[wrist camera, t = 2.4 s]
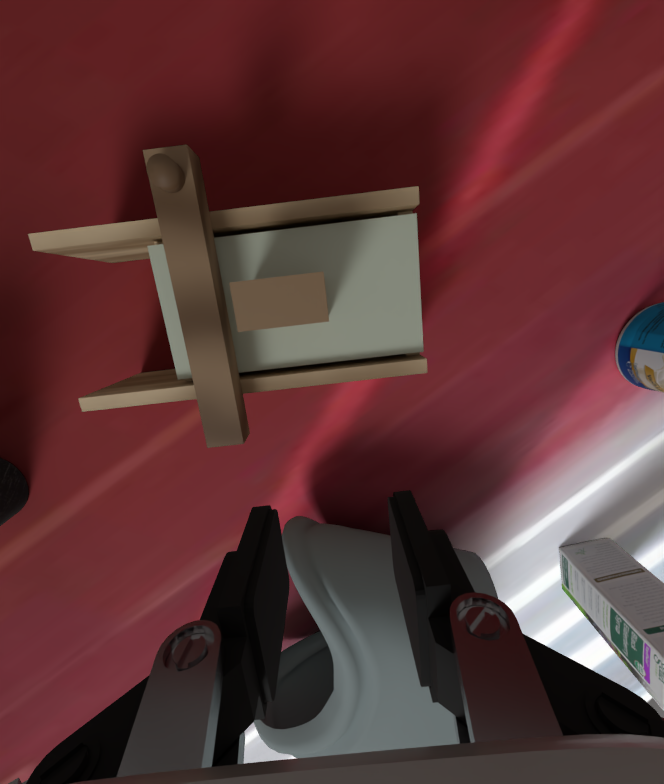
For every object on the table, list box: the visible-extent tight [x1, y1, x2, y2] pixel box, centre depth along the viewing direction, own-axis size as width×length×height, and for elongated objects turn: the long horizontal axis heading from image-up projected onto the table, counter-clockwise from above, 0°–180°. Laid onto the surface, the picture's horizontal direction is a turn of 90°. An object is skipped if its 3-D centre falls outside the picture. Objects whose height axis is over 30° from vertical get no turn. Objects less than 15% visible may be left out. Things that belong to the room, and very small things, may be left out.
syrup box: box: [559, 538, 664, 711], centre depth 34 cm, size 6×6×14 cm
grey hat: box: [254, 516, 498, 758], centre depth 36 cm, size 22×19×13 cm
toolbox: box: [28, 186, 427, 412], centre depth 29 cm, size 12×25×9 cm, turn 96°
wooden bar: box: [143, 145, 250, 448], centre depth 23 cm, size 18×2×3 cm, turn 6°
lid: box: [147, 213, 423, 380], centre depth 23 cm, size 9×18×7 cm, turn 96°
